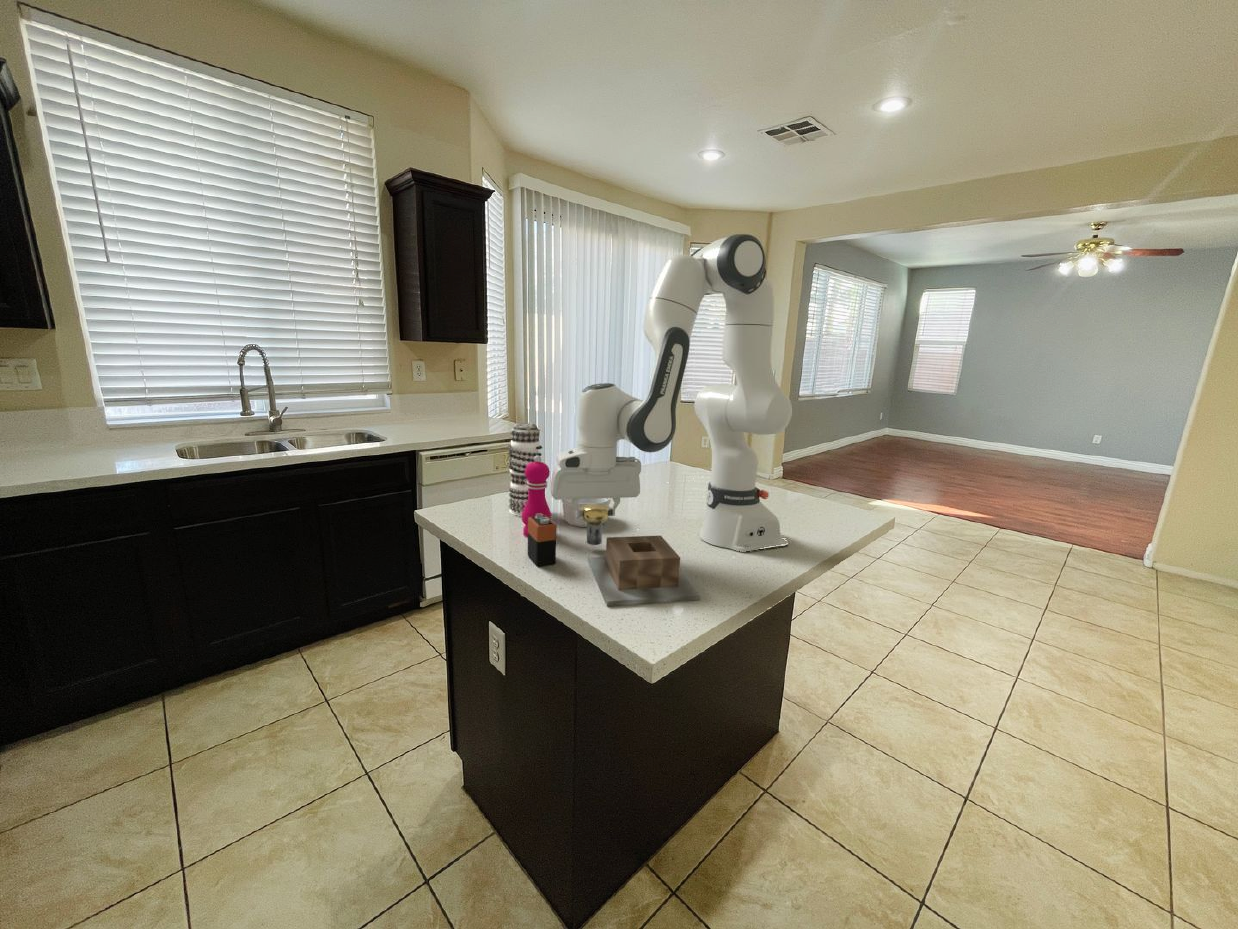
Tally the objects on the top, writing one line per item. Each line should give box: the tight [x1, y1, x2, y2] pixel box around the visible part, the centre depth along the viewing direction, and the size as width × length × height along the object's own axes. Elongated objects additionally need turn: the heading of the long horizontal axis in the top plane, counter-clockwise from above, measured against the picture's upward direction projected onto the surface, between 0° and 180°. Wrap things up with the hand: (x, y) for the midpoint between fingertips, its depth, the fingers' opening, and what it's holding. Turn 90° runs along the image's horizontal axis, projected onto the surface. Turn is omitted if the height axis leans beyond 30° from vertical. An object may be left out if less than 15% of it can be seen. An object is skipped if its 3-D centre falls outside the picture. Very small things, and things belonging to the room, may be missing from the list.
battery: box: [527, 514, 558, 567], centre depth 105 cm, size 4×7×10 cm, turn 28°
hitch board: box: [587, 535, 701, 607], centre depth 99 cm, size 18×20×7 cm
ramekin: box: [561, 498, 611, 528], centre depth 133 cm, size 13×13×7 cm
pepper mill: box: [521, 455, 552, 538], centre depth 120 cm, size 7×7×20 cm
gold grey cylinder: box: [582, 504, 609, 546], centre depth 112 cm, size 6×6×8 cm
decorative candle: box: [507, 422, 543, 517], centre depth 136 cm, size 9×9×25 cm
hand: (595, 516), depth 112 cm, fingers closed on gold grey cylinder, 6 cm apart
